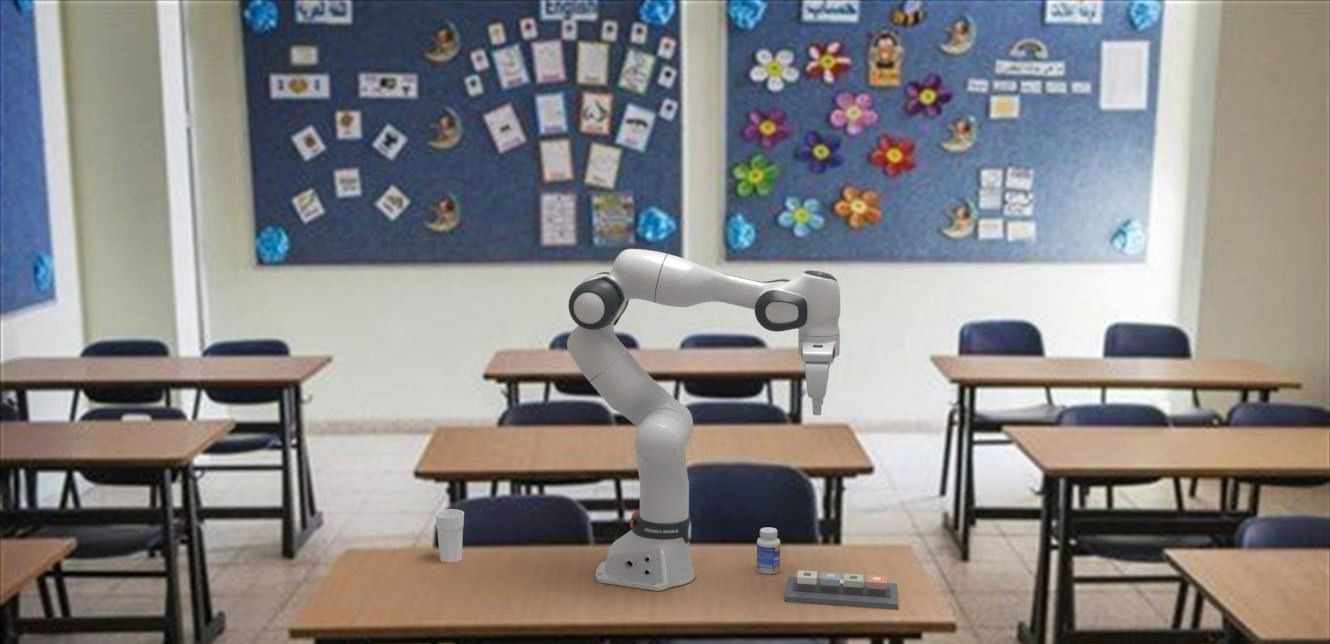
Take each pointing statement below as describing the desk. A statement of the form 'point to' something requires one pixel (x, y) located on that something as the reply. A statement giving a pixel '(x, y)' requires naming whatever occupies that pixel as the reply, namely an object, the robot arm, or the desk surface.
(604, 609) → the desk surface
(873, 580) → the terracotta key
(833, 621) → the desk surface
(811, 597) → the keypad base
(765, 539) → the pill bottle
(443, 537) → the cup
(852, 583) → the sage key
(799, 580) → the cream key
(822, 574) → the slate key
